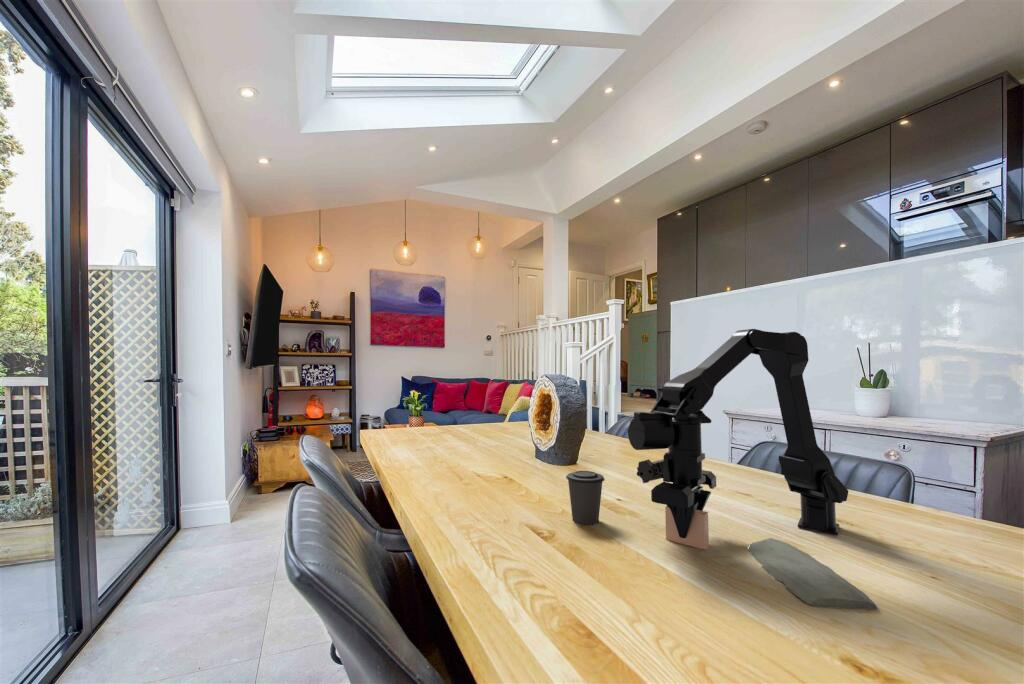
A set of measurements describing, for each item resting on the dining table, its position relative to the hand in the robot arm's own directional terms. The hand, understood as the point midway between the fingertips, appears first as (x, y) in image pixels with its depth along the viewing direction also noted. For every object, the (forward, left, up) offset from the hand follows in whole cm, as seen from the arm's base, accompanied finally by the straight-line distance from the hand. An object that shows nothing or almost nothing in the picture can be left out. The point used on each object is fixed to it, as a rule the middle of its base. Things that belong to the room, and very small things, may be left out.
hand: (686, 533), depth 78 cm
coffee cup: (+2, -20, -2) cm, 20 cm away
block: (0, 0, -2) cm, 2 cm away
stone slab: (0, +17, -2) cm, 17 cm away
